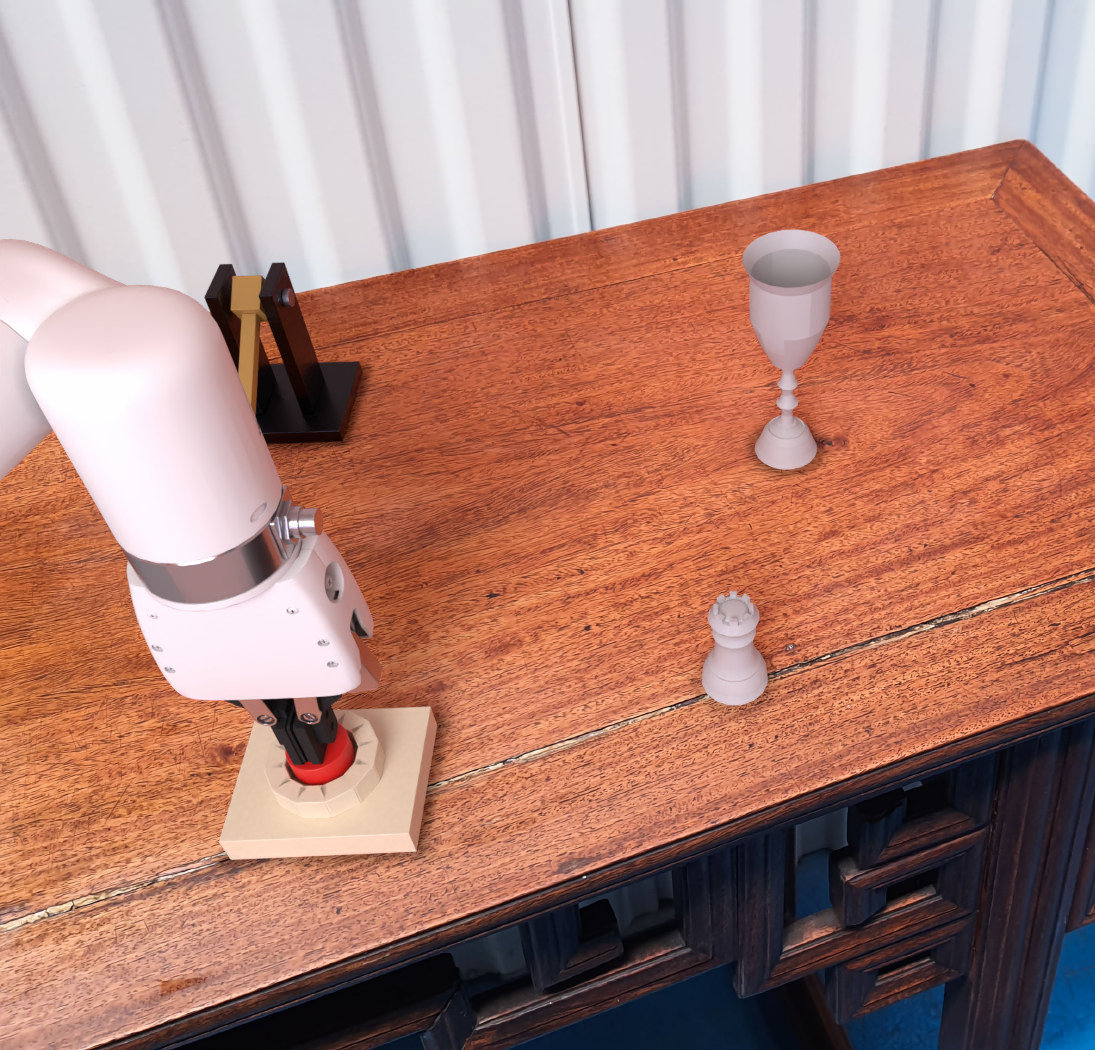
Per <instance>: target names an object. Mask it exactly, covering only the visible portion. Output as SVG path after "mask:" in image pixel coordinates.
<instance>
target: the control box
mask: <svg viewBox="0 0 1095 1050" xmlns="http://www.w3.org/2000/svg"><path fill="white" fill-rule="evenodd" d="M333 711H334V713H335V716H336V718H337V721H338V723H339V724H341V725H342V726H343V727H344V728H345V730H346V732H347V734H348V736H349V738H350V741H351V743H352V745H353V747H354V752H355V755H354V760H353V763H352V765H351V767H350V768H349V769H348V770H347V771H346V772H345V774H344V775H343V776H341V777H339V778H337V779H335V780H333V781H331V782H329V783H327V784H325V785H312V786H311V785H307V784H305V783H303V782H301V781H300V780H298V778H297V777H296V776H295V774H294V772H293V770H292V768H291V766H290V765H289V763H288V761H287V759H286V755H285V747H284V745H280V744H279V742H278V740H277V738H276V736H275V734H274V732H273V730H272V729H271V727H270V726H264V725H261V724H259V723H257V722H256V721H255V720H253V725H252V727H251V731H250V734H249V737H248V741H247V745H246V748H245V752H244V755H243V759H242V761H241V764H240V768H239V772H238V774H237V775H238V776H237V778H236V782H235V785H234V789H233V792H232V796H231V799H230V803H229V806H228V809H227V812H226V815H225V820H224V823H223V825H222V830H221V832H220V837H219V840H218V843H219V844H220V846H221V847H222V849H223V851H224V852H225V854H226V855H227V857H228V858H229V859H230V860H231V861H233V860H234V861H235V860H236V861H237V860H257V859H258V860H259V859H279V858H281V859H283V858H302V857H303V858H304V857H324V856H325V857H326V856H327V857H328V856H350V855H369V854H370V855H371V854H372V855H373V854H392V853H416V852H417V851H418V845H419V838H420V833H421V827H422V822H423V815H424V809H425V803H426V797H427V790H428V784H429V779H430V772H431V766H432V761H433V755H434V748H435V742H436V736H437V731H438V723H437V721H436V718H435V715H434V712H433V709H432V706H407V707H406V706H405V707H382V708H380V707H379V708H360V709H359V708H358V709H357V708H356V709H346V708H345V709H333Z"/></svg>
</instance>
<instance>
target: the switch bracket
mask: <svg viewBox="0 0 1095 1050" xmlns="http://www.w3.org/2000/svg"><path fill="white" fill-rule="evenodd" d="M233 276H237V273H236V270H235V268H234V265H233V263H220V264H219V265H218V267H217V269H216V271H215V273H214V275H213V277H212V280H211V282H210V284H209V286H208V288H207V290H206V293H205V294H204V297H203V298H204V301H205V303H206V305H207V308H208V311H209V313H210V314H211V316H212V317H213V318H214V320H215V321H216V323H217V324H218V326H219V328H220V330H221V333H222V335H223V337H224V340H225V342H226V345H227V347H228V350H229V352H230V355H231V357H232V360H233V362H234V365H235V367H236V370H237V372H239V355H240V337H241V319H240V318H238V317H237V316H236V315H235V314H234V313H233V312H232V311H231V296H232V279H233ZM264 279H265V281H264V283H263V286H262V288H261V291H260V293H259V299H260V301H261V304H262V307H263V310H264V312H265V315H266V318H267V320H268V321H267V324H268V327H269V329H270V331H271V334H272V337H273V338H274V342H275V345H276V347H277V350H278V353H279V356H280V358H281V361H282V363H271V362H270V360H269V358H268V354H267V352H266V349H265V346H264V344H263V341H262V338H260V341H259V360H258V379H257V397H256V416H255V417H256V420H257V422H258V424H259V427H260V429H261V432H262V434H263V437H264V439H265V441H266V444H267V445H277V444H278V445H279V444H280V445H281V444H307V443H335V442H336V443H337V442H338V443H340V442H343V441H344V438H345V434H346V431H347V427H348V424H349V421H350V418H351V414H352V410H353V407H354V404H355V400H356V396H357V394H358V390H359V386H360V383H361V380H362V376H363V373H364V371H363V367H362V365H361V362H360V361H359V360H357V361H356V360H355V361H353V360H351V361H322V362H321V361H319V359H318V356H317V353H316V351H315V347H314V344H313V341H312V339H311V336H310V333H309V329H308V327H307V324H306V321H305V318H304V315H303V312H302V309H301V307H300V304H299V303H300V302H299V301H298V298H297V295H296V292H295V289H294V286H293V283H292V281H291V278H290V275H289V271H288V268H287V266H286V262H272V263H271V265H270V267H269V269H268V272H267V274H266V276H265V278H264Z"/></svg>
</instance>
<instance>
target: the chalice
mask: <svg viewBox="0 0 1095 1050" xmlns="http://www.w3.org/2000/svg"><path fill="white" fill-rule="evenodd" d="M741 262H742V263H741V264H742V266H743V268H744V269H745V271H746V274H747V275H748V277H749V322H750V324H751V326H752V329H753V331H754V334H755V336H756V339H757V341H758V343H759V346H760V347H761V348H762V350H763V352H764V353H765V355H766V356H767V358H768V360H769V361H770V363H771V364H772V366H773V367H775V368H776V369H778V370H781V371H782V372H781V376H780V379H779V380H777V386H778V388H779V389H780V391H781V394H780V396H778V397H777V398H776V400H775V404H776V406H777V407H778V408H779V409H780V413H781V414H780V415H777V416H775V417H773V418H772V419H771V420H769V421H768V422H767V423H766V424H765V426H764V427H763V430H762V431H761V433H760V435H759V437H757V440H756V442H755V443H754V444H755V445H754V453H755V454H756V456H757V459H758V460H760V461H761V462H762V463H763V464H764V465H766V466H769V467H770V468H773V469H778V470H784V471H785V470H796V469H800V468H803V467H804V466H807V465H808V464H810V463H811V462H812V461H813V460H814V459H815V458H816V455H817V453H818V445H817V442H816V441H815V439H814V437H813V434H812V432H811V431H810V428H809V426H808V425H807V423H806V422H805V421H804V420H802V419H801V418H799V417H797V416H795V415H794V414H793V412H794V410H795V408H797V406H798V405H799V399H798V397H796V396H795V394H794V391H795V389H796V388H797V387H798V385H799V381H798V380H797V378H796V376H795V370H798V369H800V368H802V367H803V366H804V365H805V364H806V363H807V361H808V359H810V357H811V355H812V353H814V350H815V349H816V347H817V346H818V344H819V342H820V341H821V338H822V336H823V334H824V332H825V329H826V327H827V326H828V323H829V321H830V318H831V306H832V290H833V289H832V287H833V286H832V285H833V276H834V274H835V273H836V271H837V269H838V267H839V265H840V263H841V252H840V250H839V248H838V247H837V245H836V244H835V243H834V242H833V241H831V239H829V238H828V237H826V236H825V235H822V234H819V233H817V232H814V231H810V230H805V229H804V230H802V229H782V230H776V231H771V232H768V233H766V234H764V235H762V236H759V237H757V238H755V239H754V240H753V241H751V242H750V244H748V245H747V246H746V248H745V249H744V251H743V253H742V260H741Z"/></svg>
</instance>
